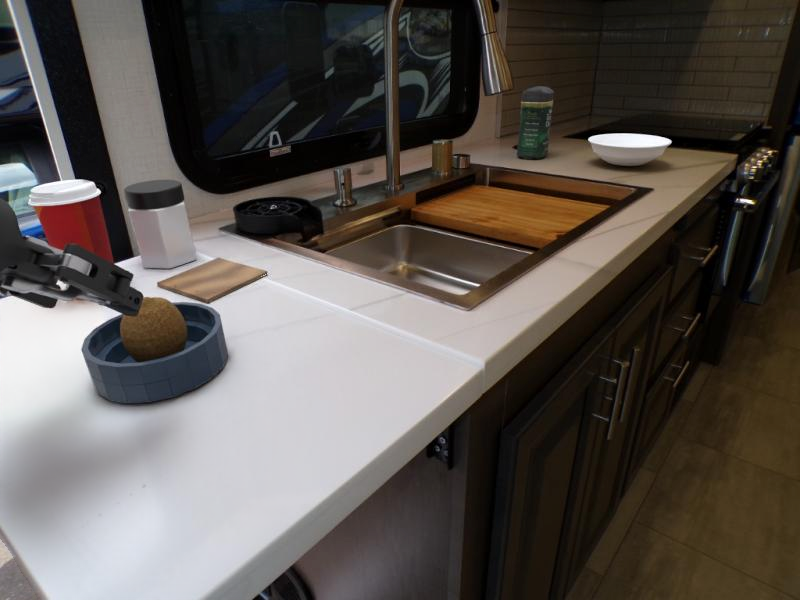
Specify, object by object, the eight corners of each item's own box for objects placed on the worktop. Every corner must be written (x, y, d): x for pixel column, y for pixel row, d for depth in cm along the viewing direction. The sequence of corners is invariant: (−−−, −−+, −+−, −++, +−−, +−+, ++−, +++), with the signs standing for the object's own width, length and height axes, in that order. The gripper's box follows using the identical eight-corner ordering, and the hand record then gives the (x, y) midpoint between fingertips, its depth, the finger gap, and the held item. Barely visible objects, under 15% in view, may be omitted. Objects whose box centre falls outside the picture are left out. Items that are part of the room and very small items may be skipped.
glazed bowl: (69, 379, 54) (55, 342, 52) (178, 325, 64) (170, 292, 62) (144, 422, 48) (132, 382, 46) (253, 355, 58) (247, 319, 56)
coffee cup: (108, 274, 79) (79, 175, 73) (138, 286, 75) (110, 182, 68) (50, 295, 73) (11, 189, 67) (79, 309, 69) (41, 198, 62)
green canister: (541, 161, 143) (547, 88, 135) (513, 158, 147) (518, 87, 139) (551, 154, 151) (558, 85, 142) (524, 152, 154) (529, 84, 146)
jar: (182, 246, 90) (166, 176, 84) (209, 256, 85) (194, 183, 80) (130, 262, 84) (110, 188, 78) (157, 274, 79) (137, 196, 74)
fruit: (117, 375, 54) (95, 307, 51) (161, 345, 59) (144, 281, 56) (165, 386, 52) (146, 316, 49) (206, 354, 57) (191, 288, 54)
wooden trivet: (157, 286, 75) (156, 282, 75) (218, 261, 83) (218, 257, 83) (207, 303, 70) (206, 299, 69) (268, 274, 78) (267, 270, 77)
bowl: (608, 154, 149) (611, 131, 146) (680, 163, 136) (685, 138, 133) (570, 165, 137) (573, 140, 134) (645, 177, 124) (650, 149, 121)
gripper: (-218, 265, 32) (14, 335, 47) (-30, 281, 28) (154, 350, 44) (-160, 158, 34) (43, 257, 49) (20, 162, 31) (178, 267, 46)
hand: (95, 301), depth 46 cm, fingers open, 8 cm apart
